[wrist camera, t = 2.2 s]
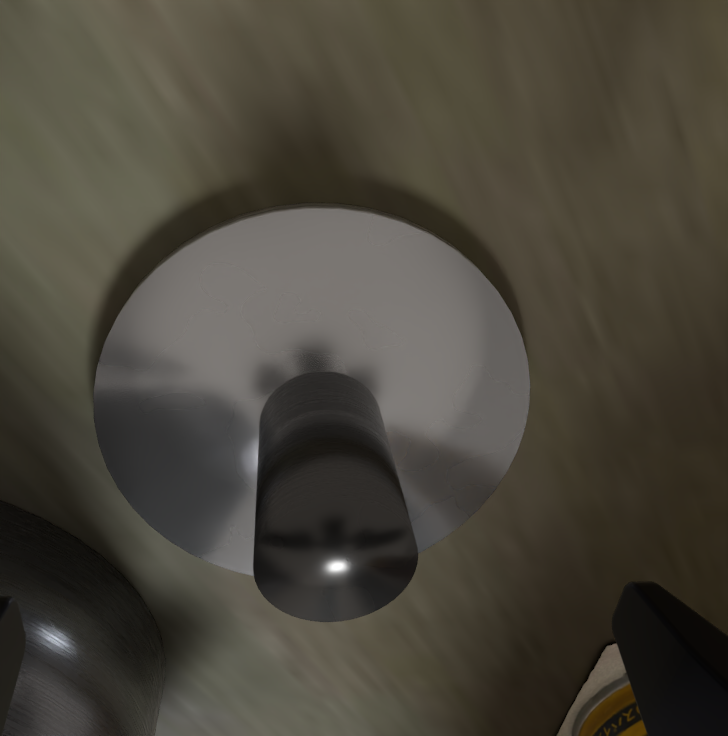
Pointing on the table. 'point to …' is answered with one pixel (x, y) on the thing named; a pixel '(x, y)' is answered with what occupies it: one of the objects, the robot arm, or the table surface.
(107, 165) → the table surface
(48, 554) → the pot
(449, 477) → the lid
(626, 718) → the condiment
